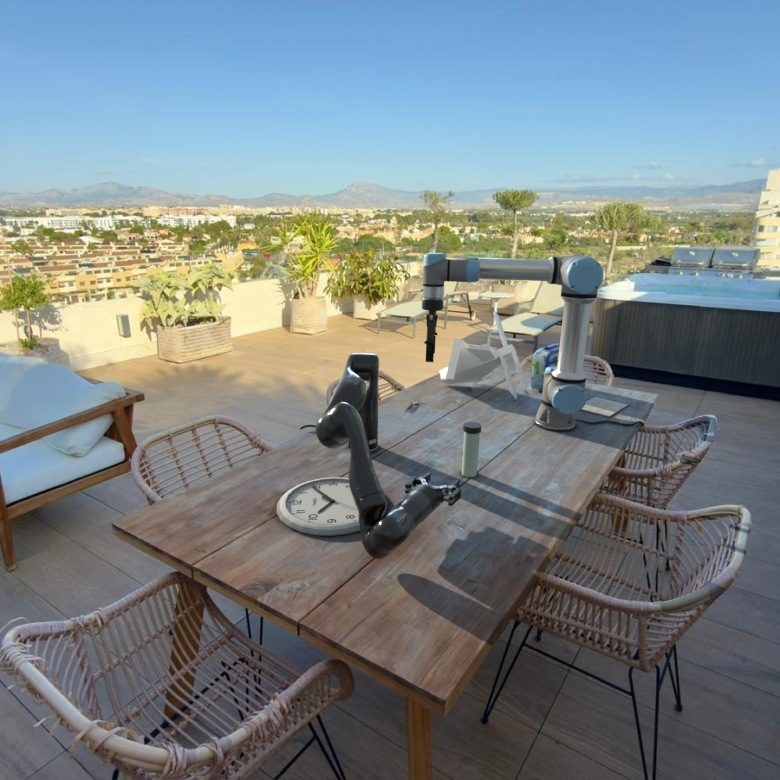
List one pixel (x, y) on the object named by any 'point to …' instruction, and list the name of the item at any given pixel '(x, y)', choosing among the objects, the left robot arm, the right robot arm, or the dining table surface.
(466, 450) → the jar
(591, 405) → the invitation card
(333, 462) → the dining table surface
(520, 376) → the white plastic object
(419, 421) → the dining table surface
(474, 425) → the lid
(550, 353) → the lunch box
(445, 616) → the dining table surface
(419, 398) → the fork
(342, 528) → the wall clock
